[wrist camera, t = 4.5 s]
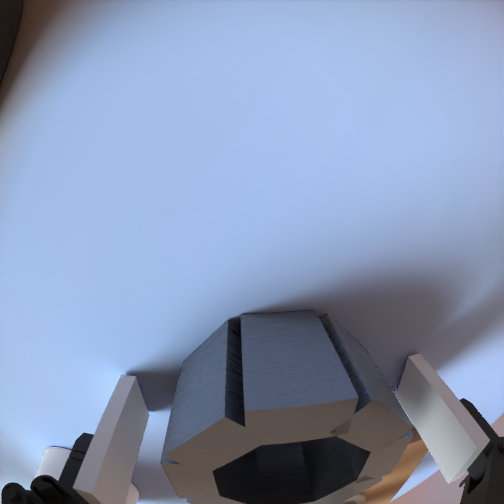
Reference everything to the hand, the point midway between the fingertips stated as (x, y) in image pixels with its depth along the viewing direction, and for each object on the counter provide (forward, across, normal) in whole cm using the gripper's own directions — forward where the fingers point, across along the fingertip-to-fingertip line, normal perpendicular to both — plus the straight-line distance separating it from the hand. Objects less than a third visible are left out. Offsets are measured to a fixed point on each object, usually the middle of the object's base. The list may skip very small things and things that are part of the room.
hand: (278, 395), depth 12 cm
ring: (0, 0, 0) cm, 0 cm away
